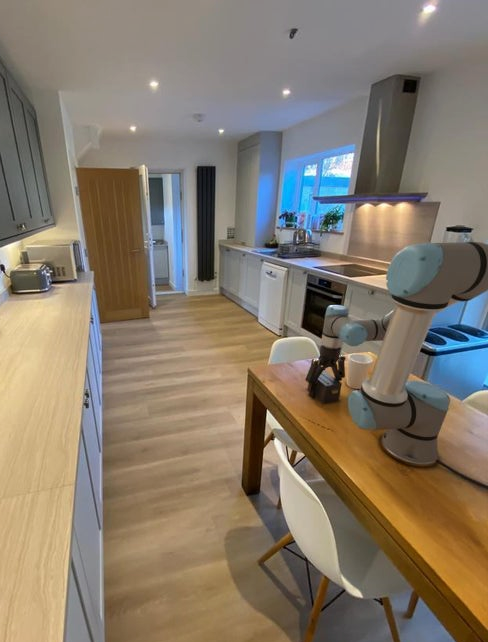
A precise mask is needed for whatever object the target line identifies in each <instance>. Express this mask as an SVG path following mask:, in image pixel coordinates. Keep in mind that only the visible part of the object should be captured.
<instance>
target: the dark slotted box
mask: <svg viewBox="0 0 488 642" xmlns="http://www.w3.org/2000/svg"><path fill="white" fill-rule="evenodd" d="M316 384H317V385H316V391H315V397H314V398H317V400H319V401H320V402H321V403H322V404H328V403H334V402H338V401H339V399H340V395H341V390H342V385H343V383H342V382H341V381H338V380H336V379H335V376H332V375H331V374H329V372H327V371H325V370H323V372H322V373H321V375H320V376H319V378H318V379H317V381H316ZM307 391H308V392H310V389H309V383H308V382H307Z"/></svg>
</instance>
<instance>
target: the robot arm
mask: <svg viewBox="0 0 488 642" xmlns="http://www.w3.org/2000/svg"><path fill="white" fill-rule="evenodd" d="M385 275H386V276H385V280H386V281H387V282H386V284H385V285H386V288H387V290H388V292H389V293H390V294H391V295H390V299H391V301H392V302H393V303H394V304H395V305H394V308H393V310H391V311H390V312H389V313H387V314H386V315H384V316H383V317H381V318H371V319H352V318H351V317H349V310H350V309H349V308H348V306H345V305H341V304H331V305H328V307H326V311H325V314H324V322H323V328H322V334H321V341H320V343H321V344H320V346H319V357H318V358H316V359H315V358H312V359H311V364H310V366H309V369H308V372H307V374H306V377H305V379H304V380H305V381H306V382H307V384H308V383H309V389H310V391H308V392H309V393H308V395H309V396H310V397H311V398H312V399H314V398H316V397H315V391H316V385H317V384H316V381H317V379H318V378H319V376H320V375H321V373H322V372H323V371H325V370H326V369H328V368H331V371H332V373H333V377H334V378H335V379H336V380H338V381H339V382H342V380H343V379H344V378H345V377H346V366H345V365H346V364H345V361H346V359H347V358H346V356H344V355H343V354H341V352H342V347H343V343H344V344H346V345H348V346H350V347H358V346H360V345H362V344H364V343H365V342H381V346H380V348H379V350H378V351H379V352H378V354H377V357H376V360H375V364H374V365H373V369H372V371H371V374H370V377H368V378H366V380H364V381H363V383H362V386H361V388H360V389H359V390H358V389H356V390H353V391H350V392H349V394H348V397H347V408H348V412H349V415H350V417H351V419H352V421H353V423H354V424H355V426H357V427H358V429H361V430H363V431H380V430H382V431H383V430H385V432H384V433H383V434H382V436H381V439H380V446H381V448H382V449H383V451H384V452H385V453H386V454H387V455H388V456H390V457H391V458H393V459H394V460H396V461H398V462H400V463H403V464H404V465H408V466H411V467H417V468H428V467H432V466H434V465H435V464H436V463H437V464H439V465H440V466H441V467H443V468H445V469H446V470H448V471H450V472H451V473H453V474H455V475H456V476H458V477H459V478H462V479H463V480H466V481H468V482H470V483H472V484H474V485H477V486H479V487H482V488H484V489H486V490H488V485H487V484H484V483H483V482H480V481H478V480H475V479H473V478H471V477H469V476H467V475H465V474H463V473H461V472H459V471H457V470H456V469H454V468H452V467H451V466H449V465H448V464H446V463H444V462H443V461H442V460H439V455H440V454H439V449H438V448H439V447H438V436H439V433H440V431H441V428H442V426H443V424H444V422H445V419H446V417H447V413H448V411H449V410H450V409H449V408H450V403H451V397H450V395H449V394H448V393H447V392H446V391H444V390H443V389H441V388H440V387H438V386H435V385H433V384H431V383H428V382H425V381H420V380H409V379H410V376H411V374H412V371H413V368H414V366H415V364H416V362H417V359H418V357H419V354H420V351H421V349H422V347H423V345H424V342H425V339H426V338H427V335H428V333H429V330H430V328H431V326H432V323H433V320H434V318H435V316H436V315H437V314H439V313H440V312H442V311H444V310H446V309H448V308H449V307H451V306H453V305H455V304H457V303H458V302H459V303H465V302H469V301H472V300H473V299H475V298H478V297H479V296H481V295H483V294H484V293H486V292H487V291H488V243H484V242H482V241H481V242H479V241H464V242H461V241H460V242H431V241H430V242H429V241H428V242H424V243H417V244H411V245H408V246H406V247H404V248H403V249H402V250H399V252H397V253H396V254H395V255H394V257H393V258H392V260H391V261H390V263H389V266H388V268H387V271H386V274H385Z"/></svg>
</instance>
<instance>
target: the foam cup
mask: <svg viewBox="0 0 488 642" xmlns="http://www.w3.org/2000/svg"><path fill="white" fill-rule="evenodd" d="M346 359H347V360H346V362H347V364H346V386H348V387H349V388H351V389H356V390H358V389H359V390H360V389H361V386H362V383H363V381H364V380H366V379H367V377H368V374H369V372H370V370H371V367H373V362H374V359H373V357H371V356H370V355H366V354H364V353H350V354H348V356H347V358H346Z"/></svg>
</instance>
